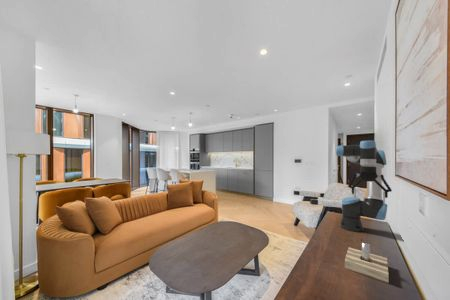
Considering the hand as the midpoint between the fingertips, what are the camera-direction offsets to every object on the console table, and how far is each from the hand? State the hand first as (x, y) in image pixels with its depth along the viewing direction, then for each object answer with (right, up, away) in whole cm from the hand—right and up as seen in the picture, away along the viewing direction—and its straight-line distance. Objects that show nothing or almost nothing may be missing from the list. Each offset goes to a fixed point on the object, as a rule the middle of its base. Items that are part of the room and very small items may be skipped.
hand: (368, 201), depth 106 cm
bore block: (-16, -28, -18) cm, 37 cm away
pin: (-16, -27, -18) cm, 36 cm away
